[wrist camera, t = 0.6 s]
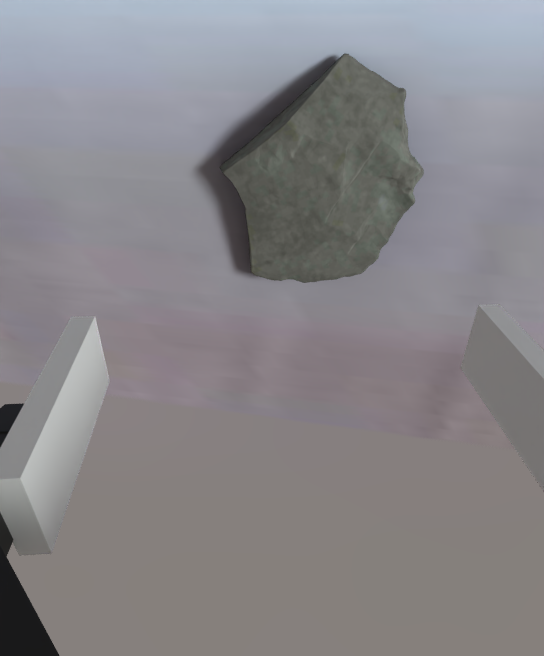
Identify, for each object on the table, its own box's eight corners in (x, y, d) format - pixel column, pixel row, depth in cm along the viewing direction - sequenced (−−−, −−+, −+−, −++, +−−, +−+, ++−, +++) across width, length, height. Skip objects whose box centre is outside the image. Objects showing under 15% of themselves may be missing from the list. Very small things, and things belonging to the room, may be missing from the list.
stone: (376, 27, 32) (477, 198, 38) (358, 38, 37) (451, 190, 42) (179, 202, 36) (298, 336, 41) (184, 192, 40) (290, 315, 46)
